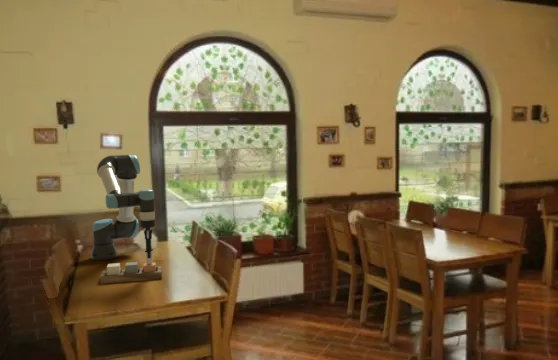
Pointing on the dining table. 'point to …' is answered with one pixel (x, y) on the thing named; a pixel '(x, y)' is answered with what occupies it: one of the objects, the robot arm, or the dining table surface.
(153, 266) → the terracotta key
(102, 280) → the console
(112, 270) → the ivory key
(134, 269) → the slate key
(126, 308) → the dining table surface
